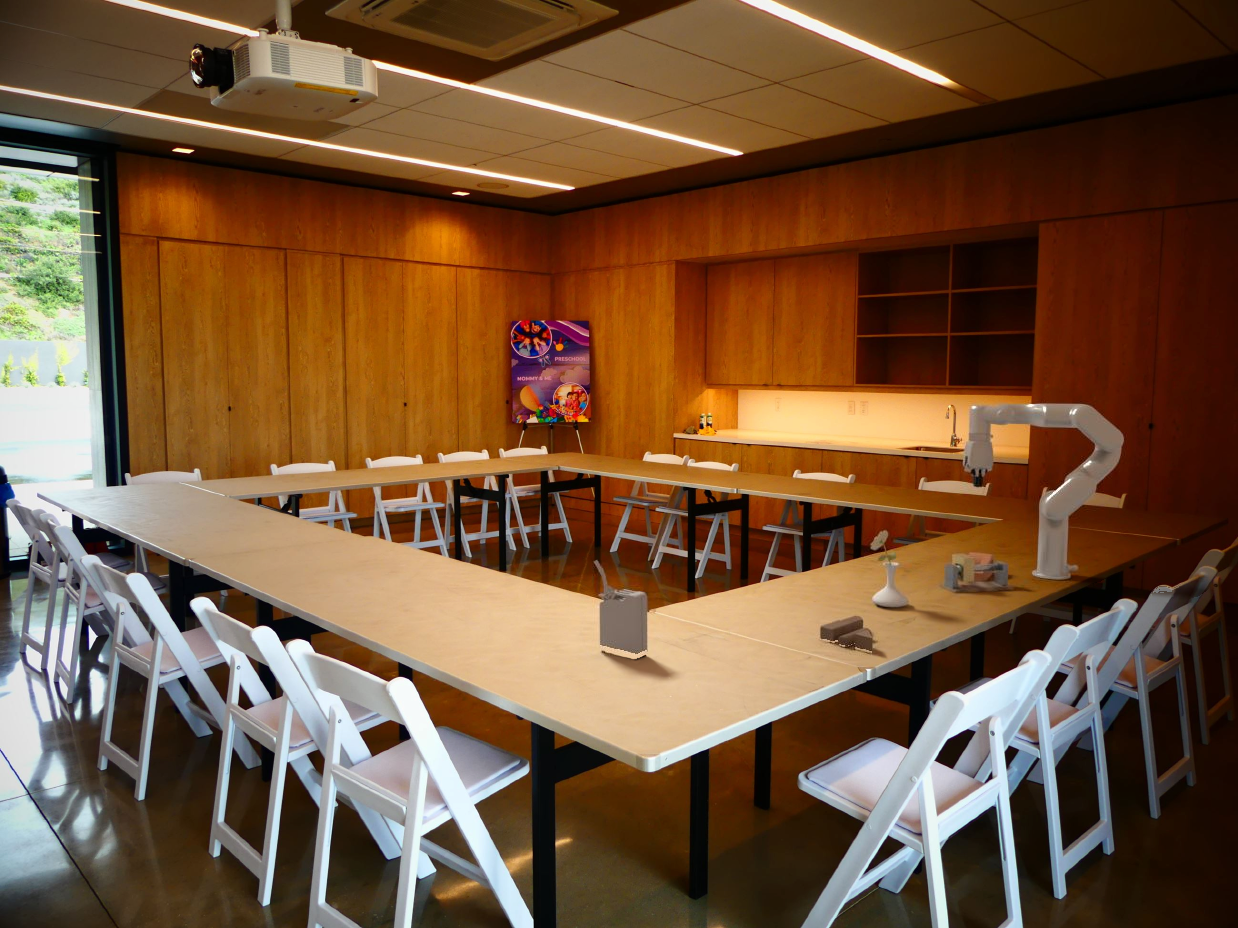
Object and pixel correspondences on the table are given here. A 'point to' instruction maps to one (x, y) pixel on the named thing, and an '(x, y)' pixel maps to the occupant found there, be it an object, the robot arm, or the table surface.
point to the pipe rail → (997, 567)
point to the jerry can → (623, 618)
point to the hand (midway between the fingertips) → (977, 486)
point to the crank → (982, 559)
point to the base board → (977, 587)
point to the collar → (964, 566)
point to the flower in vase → (888, 578)
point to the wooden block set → (848, 633)
